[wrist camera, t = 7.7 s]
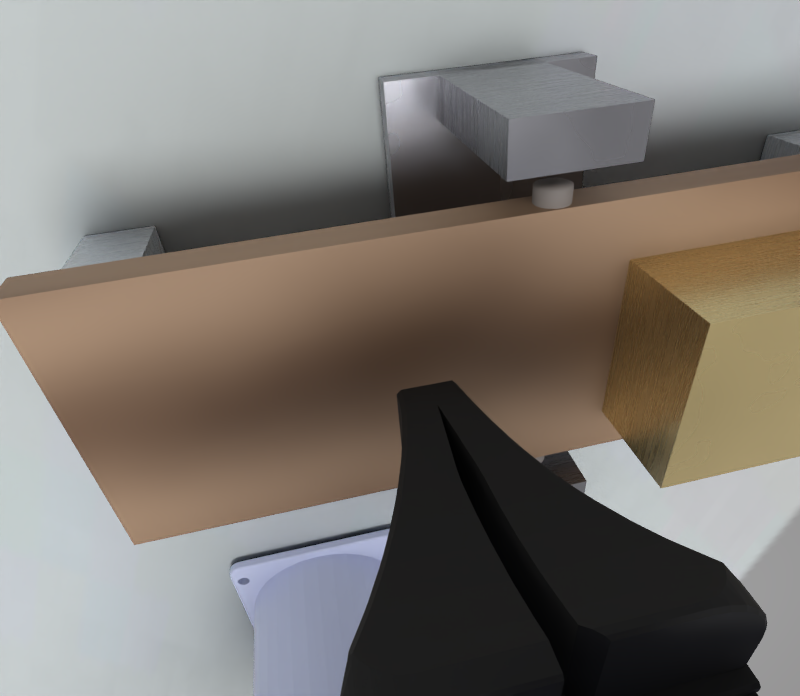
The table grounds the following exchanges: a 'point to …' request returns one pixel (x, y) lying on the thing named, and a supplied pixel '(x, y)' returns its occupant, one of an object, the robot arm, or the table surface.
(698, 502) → the table surface
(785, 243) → the block
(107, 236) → the stand
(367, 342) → the beam
